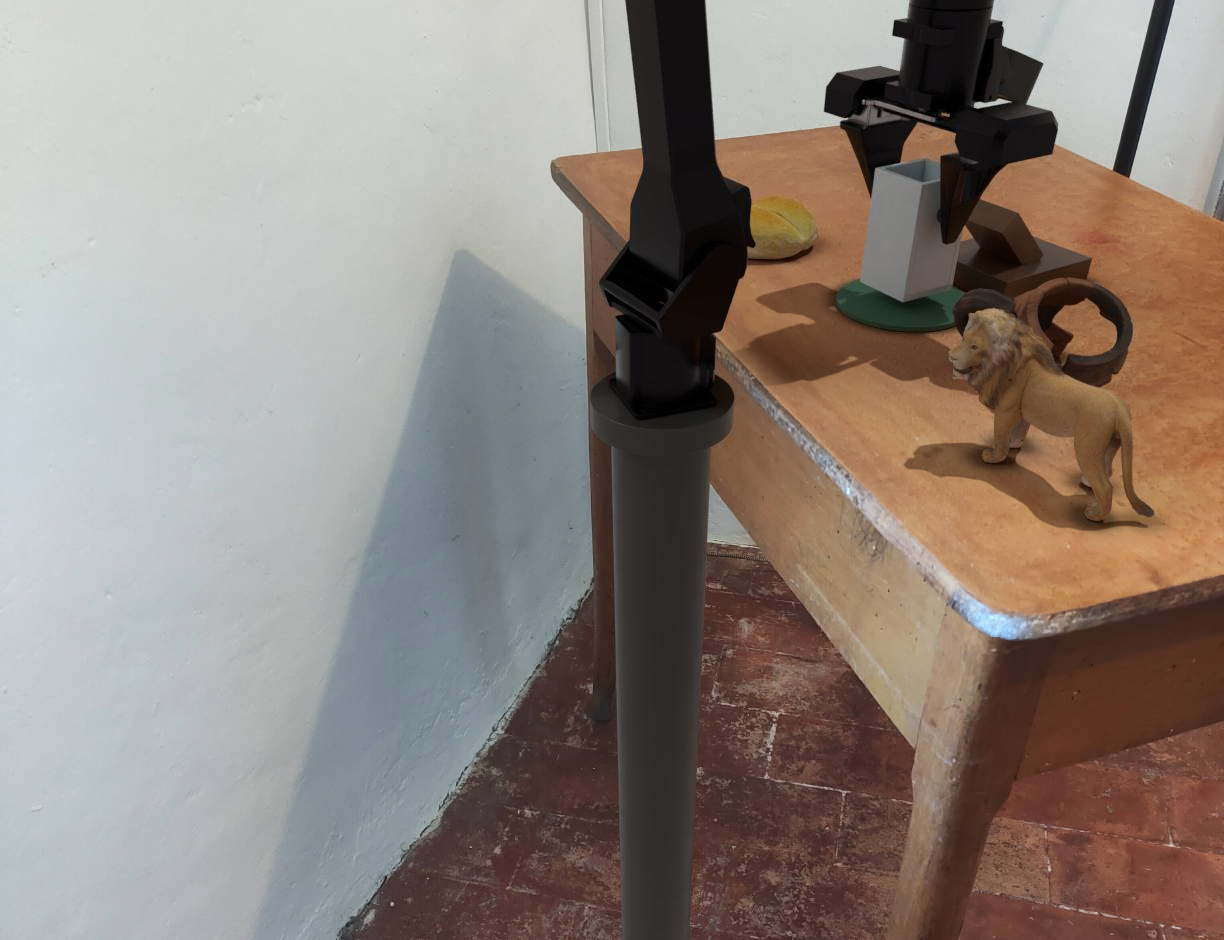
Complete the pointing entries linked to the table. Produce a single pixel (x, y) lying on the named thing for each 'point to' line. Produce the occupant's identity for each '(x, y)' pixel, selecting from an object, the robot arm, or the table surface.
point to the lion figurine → (1045, 403)
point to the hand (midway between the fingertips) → (914, 229)
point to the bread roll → (780, 228)
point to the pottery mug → (1039, 314)
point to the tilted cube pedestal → (1011, 255)
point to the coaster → (898, 308)
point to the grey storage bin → (907, 233)
